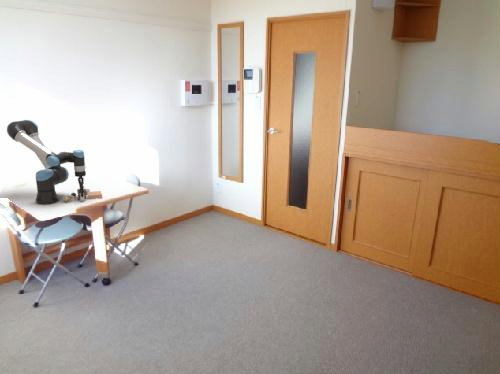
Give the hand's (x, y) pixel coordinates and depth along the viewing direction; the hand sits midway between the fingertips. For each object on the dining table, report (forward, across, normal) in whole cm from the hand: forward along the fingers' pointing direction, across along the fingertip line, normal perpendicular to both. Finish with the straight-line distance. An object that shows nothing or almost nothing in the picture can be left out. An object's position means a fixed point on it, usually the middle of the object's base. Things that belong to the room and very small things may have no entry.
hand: (82, 198), depth 299 cm
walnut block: (0, 0, 0) cm, 0 cm away
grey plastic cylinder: (0, +11, -4) cm, 12 cm away
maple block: (0, -4, +9) cm, 10 cm away
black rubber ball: (-2, +6, +6) cm, 9 cm away
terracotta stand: (0, +2, -9) cm, 9 cm away
